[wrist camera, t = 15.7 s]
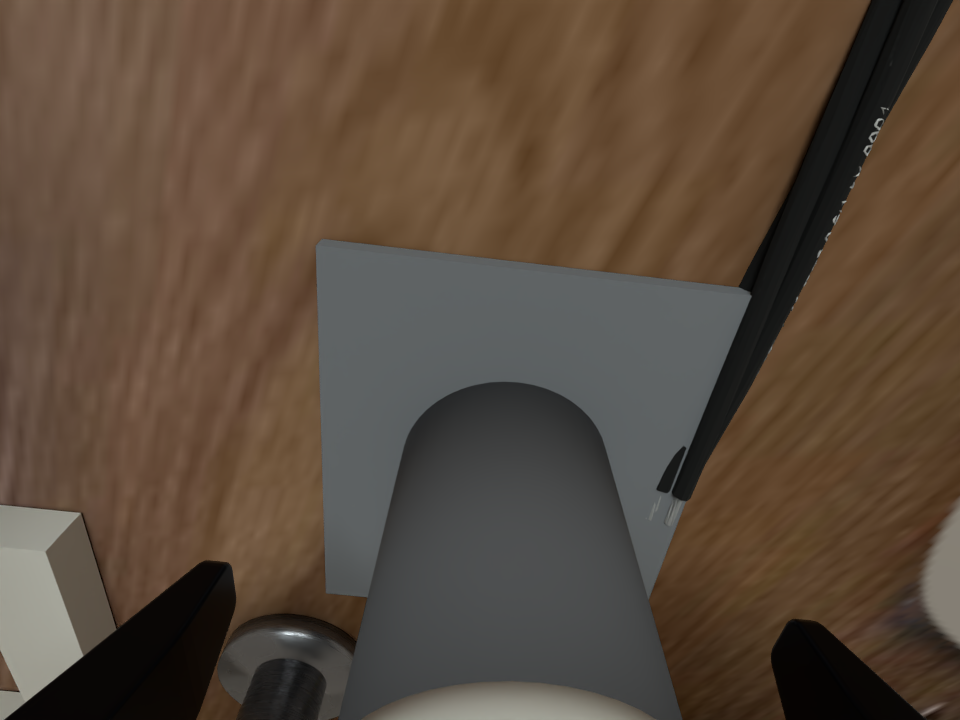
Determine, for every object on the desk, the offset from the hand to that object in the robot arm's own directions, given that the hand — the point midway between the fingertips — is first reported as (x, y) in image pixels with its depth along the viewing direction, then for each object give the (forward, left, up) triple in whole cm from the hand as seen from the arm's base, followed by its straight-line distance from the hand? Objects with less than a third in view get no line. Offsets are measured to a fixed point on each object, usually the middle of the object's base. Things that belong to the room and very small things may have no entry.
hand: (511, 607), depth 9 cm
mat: (0, 0, -4) cm, 4 cm away
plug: (0, 0, -3) cm, 3 cm away
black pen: (-5, +4, -4) cm, 8 cm away
